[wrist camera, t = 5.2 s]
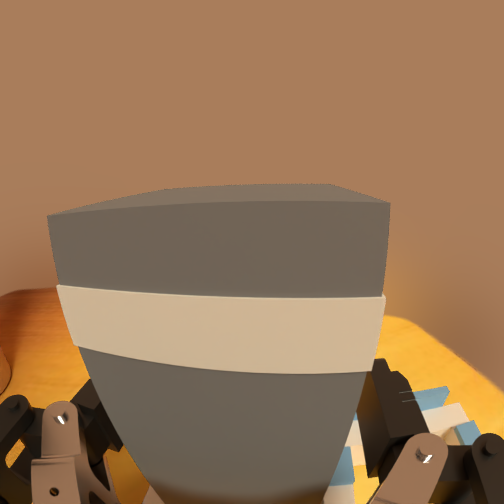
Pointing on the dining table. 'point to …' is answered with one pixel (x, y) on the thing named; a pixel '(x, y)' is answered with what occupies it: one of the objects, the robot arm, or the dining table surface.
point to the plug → (227, 330)
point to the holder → (341, 486)
